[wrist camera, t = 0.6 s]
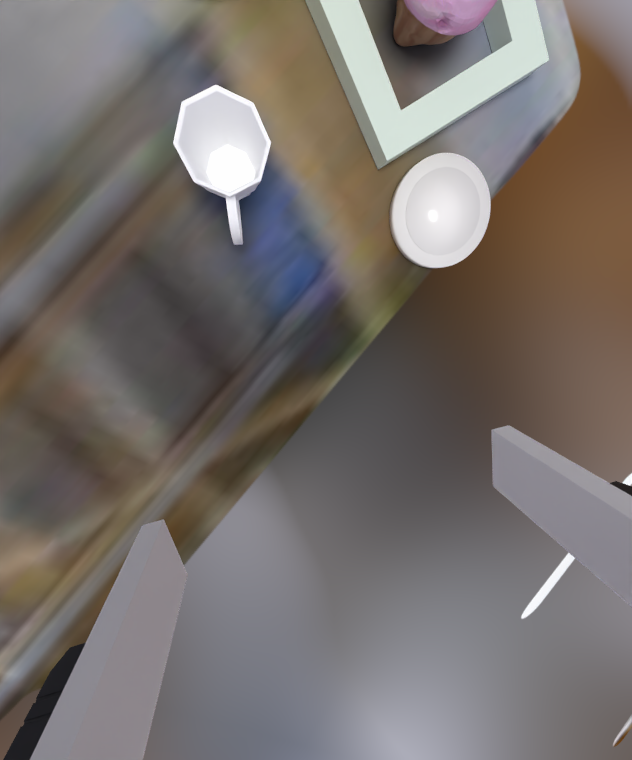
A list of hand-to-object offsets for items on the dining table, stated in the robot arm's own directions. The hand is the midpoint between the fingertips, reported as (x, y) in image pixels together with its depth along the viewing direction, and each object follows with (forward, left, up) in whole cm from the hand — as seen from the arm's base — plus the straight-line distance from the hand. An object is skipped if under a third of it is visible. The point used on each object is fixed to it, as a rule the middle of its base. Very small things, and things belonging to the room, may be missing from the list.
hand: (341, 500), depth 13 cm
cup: (-17, +4, -26) cm, 31 cm away
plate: (-5, +22, -26) cm, 34 cm away
